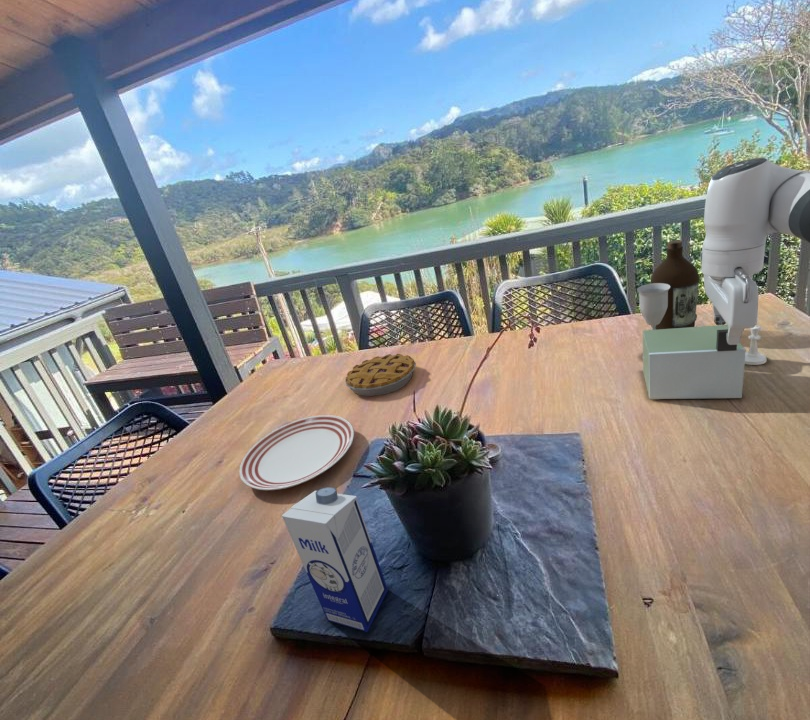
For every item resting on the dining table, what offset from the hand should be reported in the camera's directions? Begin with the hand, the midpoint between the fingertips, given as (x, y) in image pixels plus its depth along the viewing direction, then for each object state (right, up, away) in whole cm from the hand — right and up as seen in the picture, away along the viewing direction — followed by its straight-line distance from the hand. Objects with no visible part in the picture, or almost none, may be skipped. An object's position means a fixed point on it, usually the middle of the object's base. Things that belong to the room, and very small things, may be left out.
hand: (725, 333), depth 82 cm
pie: (-67, -12, +51) cm, 85 cm away
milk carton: (-67, -41, -18) cm, 81 cm away
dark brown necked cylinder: (+12, +2, +35) cm, 37 cm away
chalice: (+2, -4, +27) cm, 27 cm away
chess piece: (+18, -5, +16) cm, 24 cm away
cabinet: (+1, -10, +13) cm, 17 cm away
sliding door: (-1, -13, +7) cm, 15 cm away
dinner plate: (-85, -29, +21) cm, 92 cm away
